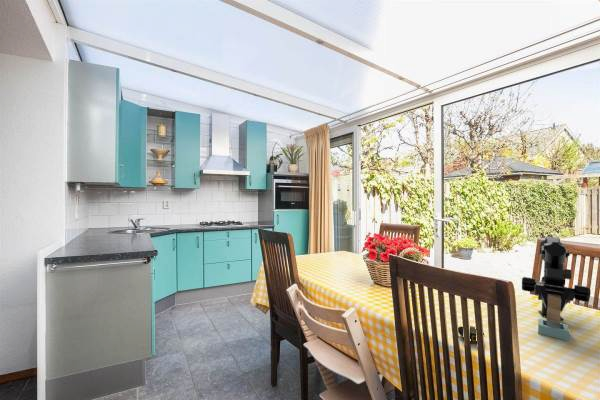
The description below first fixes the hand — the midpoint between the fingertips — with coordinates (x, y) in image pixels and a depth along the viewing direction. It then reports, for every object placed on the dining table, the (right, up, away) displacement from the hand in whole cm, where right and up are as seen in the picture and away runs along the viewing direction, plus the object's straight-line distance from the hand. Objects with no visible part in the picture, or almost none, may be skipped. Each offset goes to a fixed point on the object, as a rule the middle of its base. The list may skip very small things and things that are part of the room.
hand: (553, 309), depth 104 cm
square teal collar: (+1, -9, +1) cm, 9 cm away
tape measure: (-33, -8, -7) cm, 35 cm away
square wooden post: (+1, -7, +1) cm, 7 cm away
